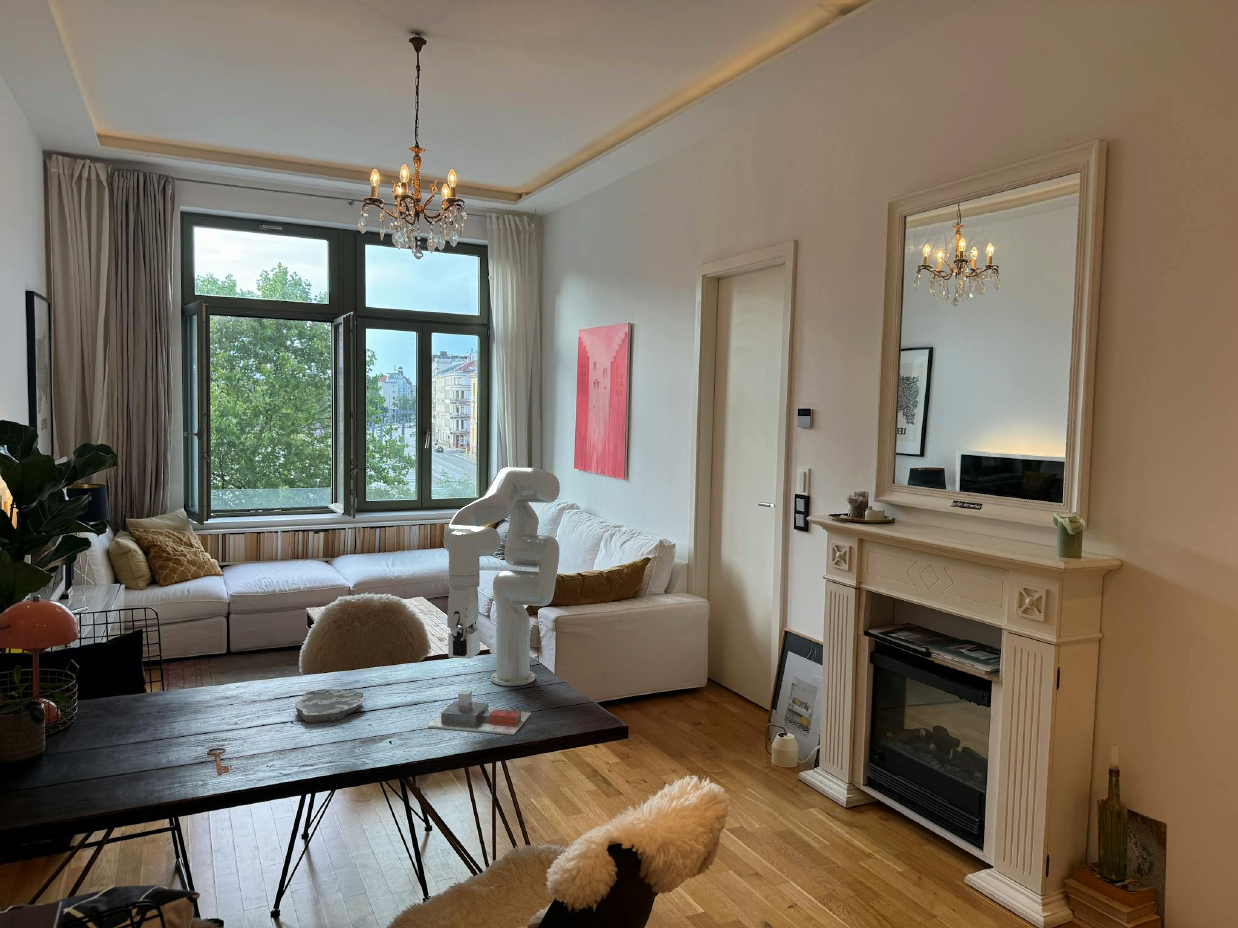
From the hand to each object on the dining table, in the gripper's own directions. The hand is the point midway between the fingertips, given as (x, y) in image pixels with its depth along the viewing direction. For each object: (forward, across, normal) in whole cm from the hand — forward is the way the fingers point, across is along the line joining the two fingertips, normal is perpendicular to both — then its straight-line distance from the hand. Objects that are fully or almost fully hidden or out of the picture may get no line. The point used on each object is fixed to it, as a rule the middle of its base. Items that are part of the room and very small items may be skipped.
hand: (464, 651), depth 217 cm
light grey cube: (+1, 0, 0) cm, 1 cm away
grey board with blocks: (+17, 0, +4) cm, 18 cm away
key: (+18, +35, -43) cm, 58 cm away
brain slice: (+18, +1, -36) cm, 40 cm away
